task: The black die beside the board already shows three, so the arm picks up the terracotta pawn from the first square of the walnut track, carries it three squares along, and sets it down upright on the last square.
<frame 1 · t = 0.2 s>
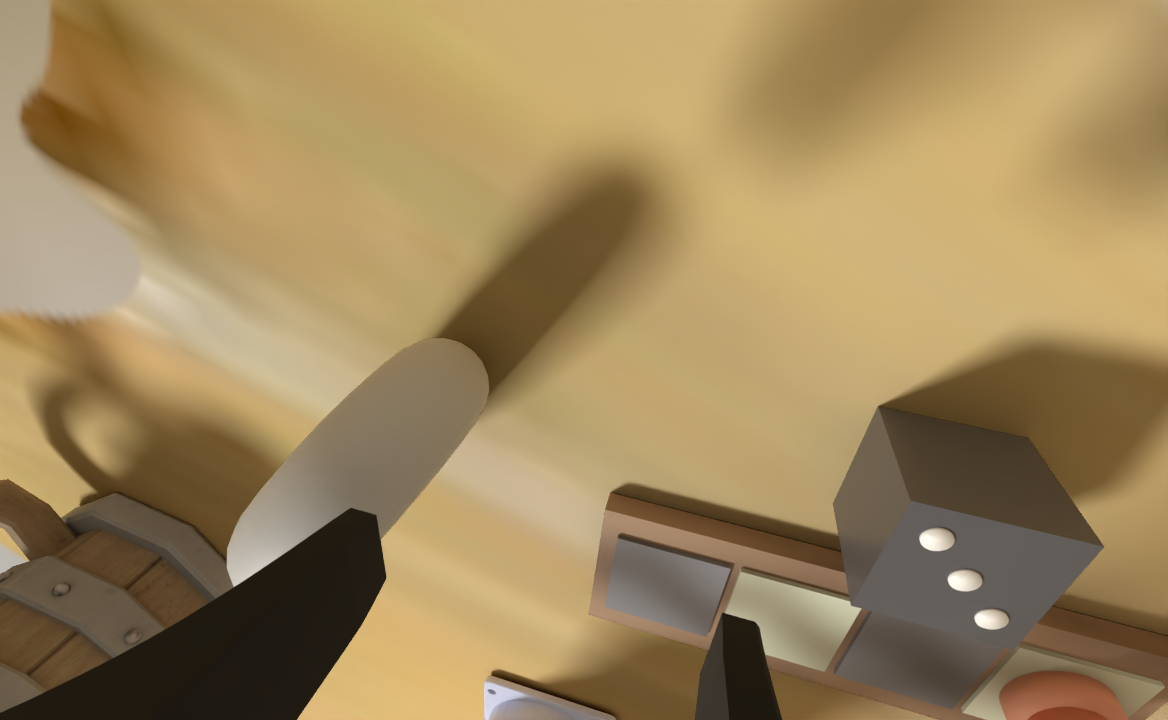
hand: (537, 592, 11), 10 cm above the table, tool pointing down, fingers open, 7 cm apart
track board: (843, 615, 23), on the table
pawn: (1056, 700, 21), point 1 cm above the table, touching track board
die: (922, 471, 19), on the table
tankard: (131, 526, 35), on the table
donut: (444, 381, 23), on the table
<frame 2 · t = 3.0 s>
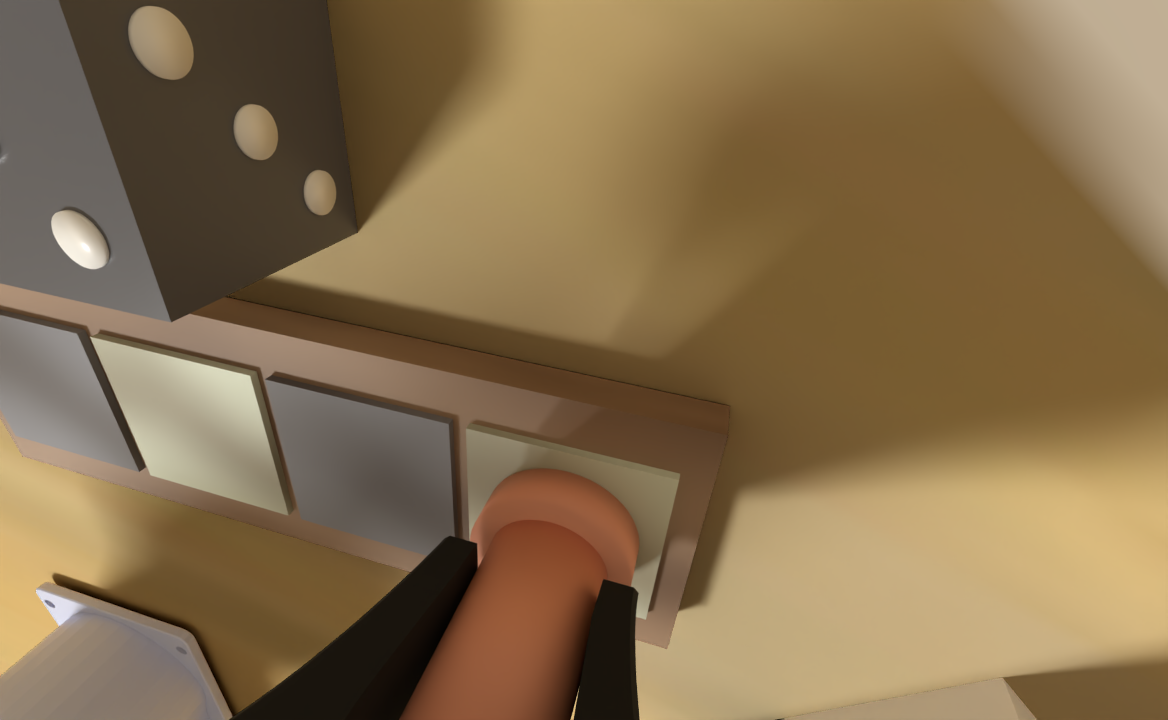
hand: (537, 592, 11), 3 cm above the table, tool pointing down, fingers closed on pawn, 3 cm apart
track board: (309, 425, 15), on the table
pawn: (561, 530, 12), point 1 cm above the table, touching gripper, track board
die: (243, 102, 11), on the table
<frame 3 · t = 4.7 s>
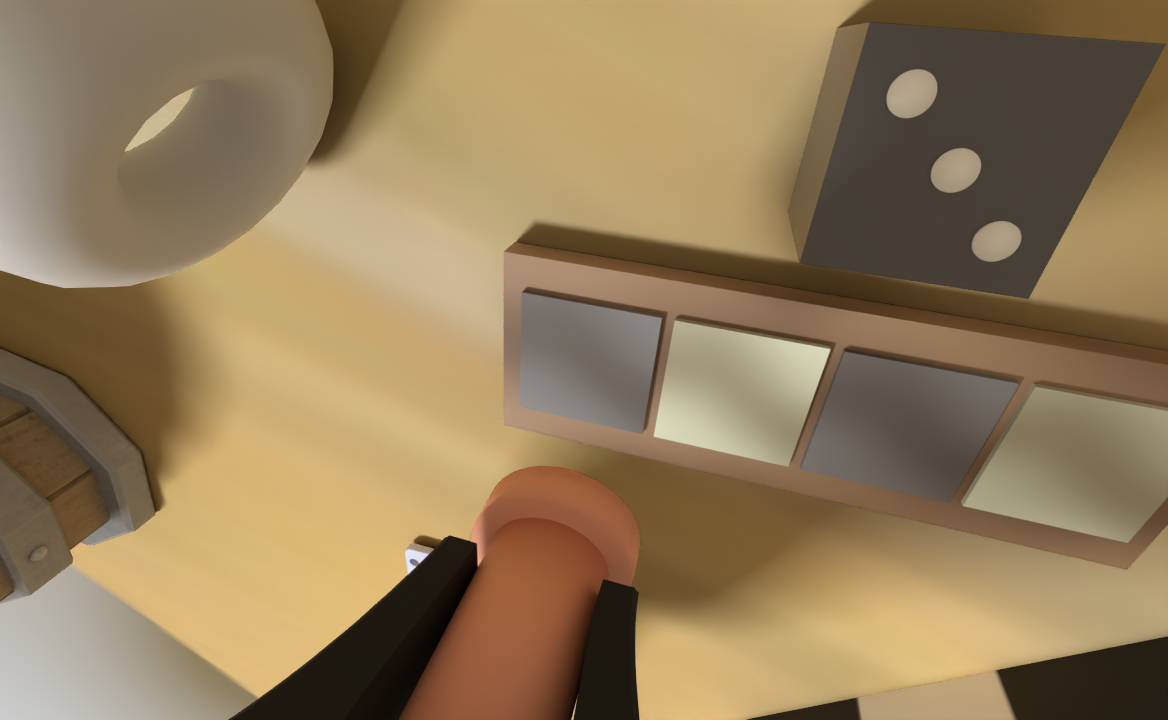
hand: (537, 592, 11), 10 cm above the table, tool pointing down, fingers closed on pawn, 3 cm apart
track board: (811, 392, 18), on the table
pawn: (562, 528, 12), point 8 cm above the table, touching gripper
die: (900, 136, 14), on the table
tankard: (11, 390, 31), on the table
donut: (304, 101, 18), on the table
when the fingers open (4 cm above the table, at t = 6.7 s): pawn drops 1 cm, resting on track board.
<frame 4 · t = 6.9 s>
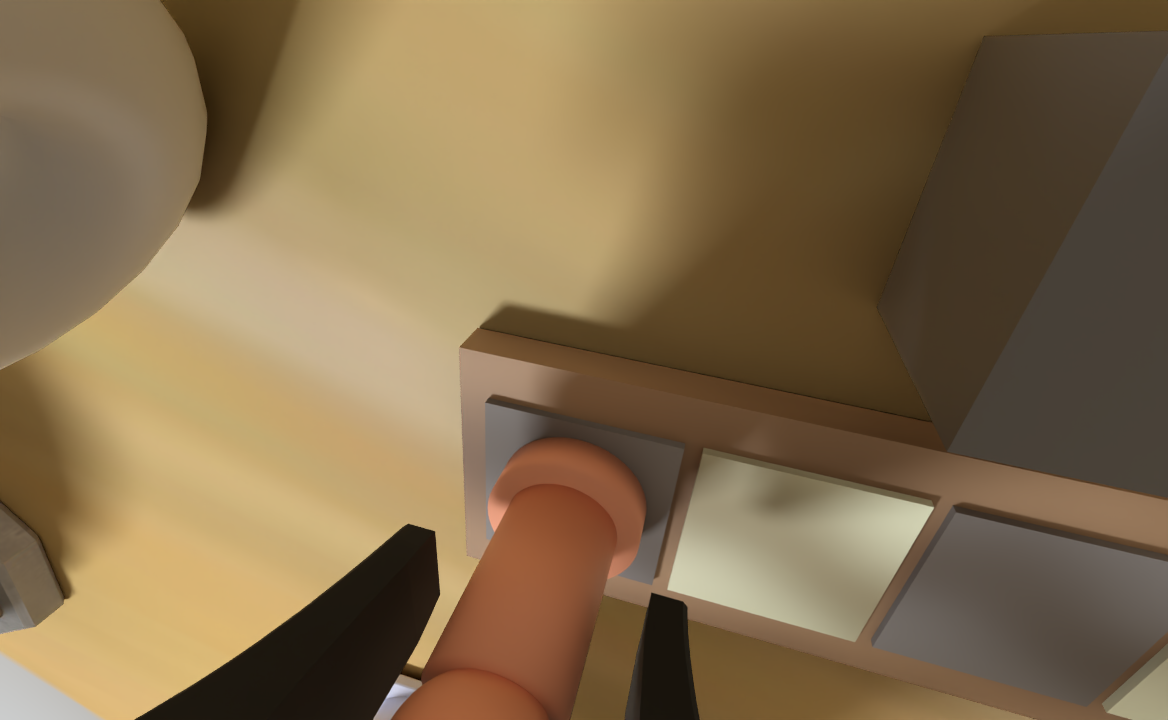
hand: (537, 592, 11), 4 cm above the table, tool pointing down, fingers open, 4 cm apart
track board: (888, 542, 13), on the table
pawn: (573, 497, 13), point 1 cm above the table, touching track board
die: (1069, 207, 9), on the table
donut: (180, 129, 13), on the table
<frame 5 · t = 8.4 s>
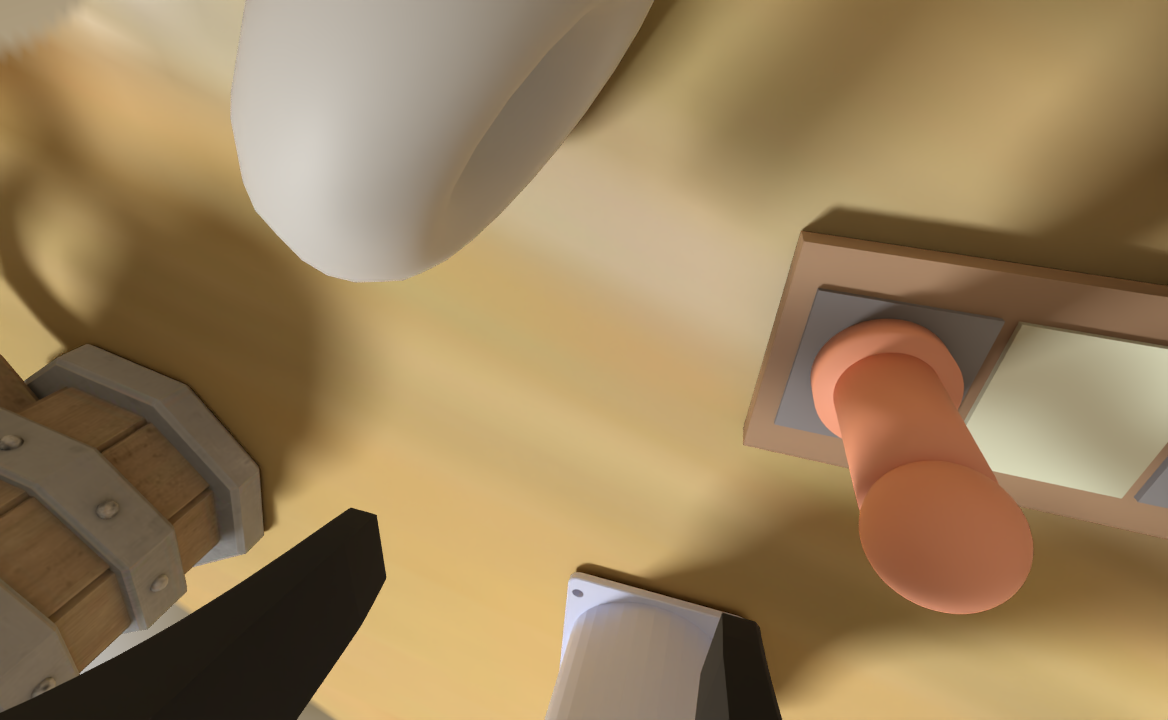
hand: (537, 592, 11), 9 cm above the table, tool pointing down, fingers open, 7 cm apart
track board: (1153, 411, 15), on the table
pawn: (878, 376, 16), point 1 cm above the table, touching track board
tankard: (112, 398, 28), on the table
donut: (555, 62, 15), on the table
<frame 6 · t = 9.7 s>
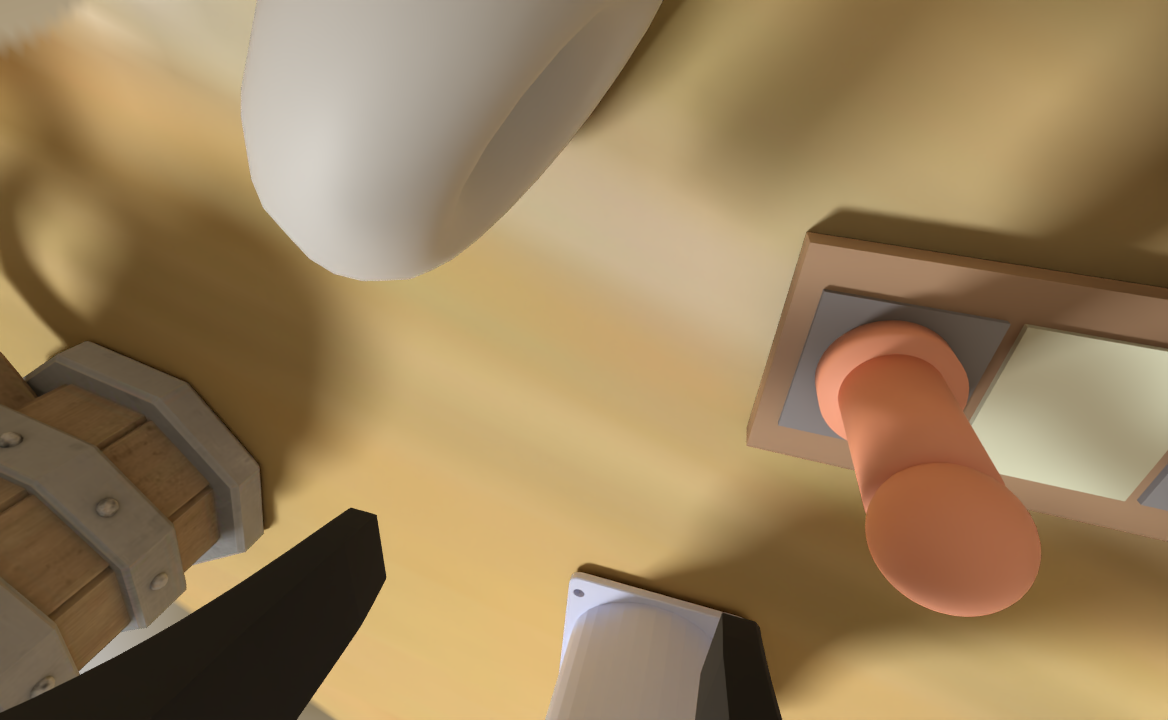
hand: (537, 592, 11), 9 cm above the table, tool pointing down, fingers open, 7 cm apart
track board: (1157, 414, 15), on the table
pawn: (883, 377, 16), point 1 cm above the table, touching track board
tankard: (111, 395, 28), on the table
donut: (561, 60, 15), on the table
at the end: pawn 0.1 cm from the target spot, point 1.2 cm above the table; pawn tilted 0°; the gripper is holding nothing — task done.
